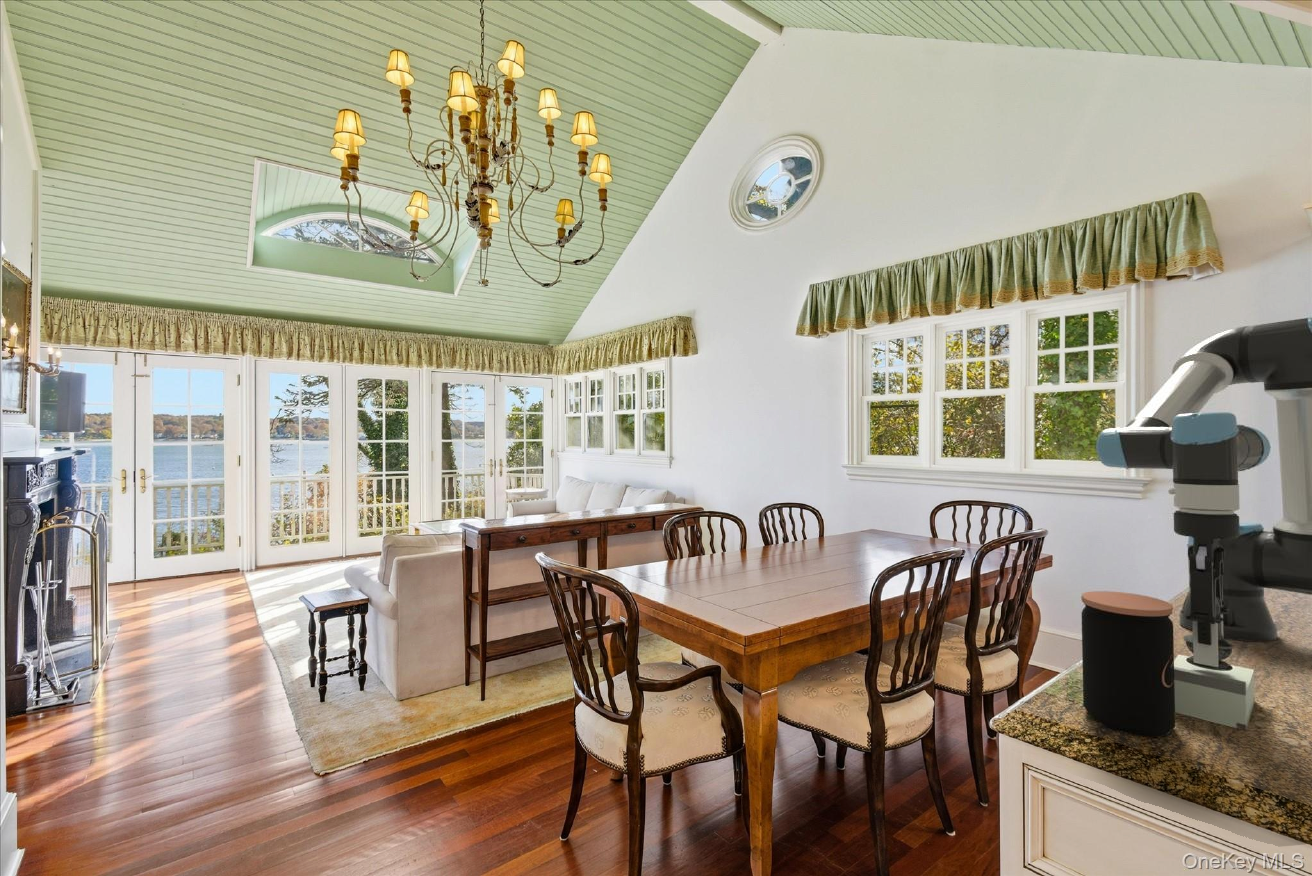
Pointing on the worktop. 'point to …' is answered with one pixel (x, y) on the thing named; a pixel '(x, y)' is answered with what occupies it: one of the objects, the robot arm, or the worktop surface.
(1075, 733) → the worktop surface
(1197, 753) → the worktop surface
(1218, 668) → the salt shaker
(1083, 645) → the coffee jar
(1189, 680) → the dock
